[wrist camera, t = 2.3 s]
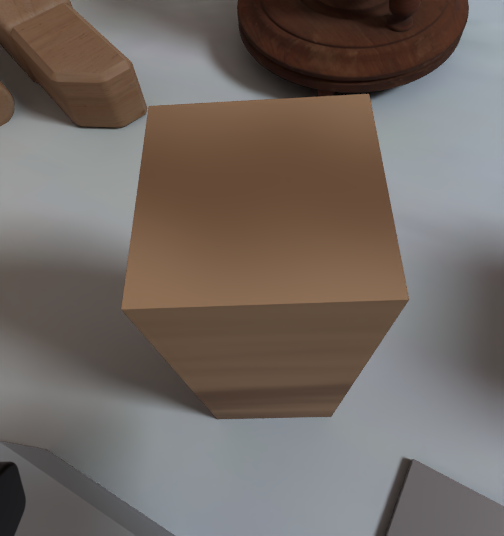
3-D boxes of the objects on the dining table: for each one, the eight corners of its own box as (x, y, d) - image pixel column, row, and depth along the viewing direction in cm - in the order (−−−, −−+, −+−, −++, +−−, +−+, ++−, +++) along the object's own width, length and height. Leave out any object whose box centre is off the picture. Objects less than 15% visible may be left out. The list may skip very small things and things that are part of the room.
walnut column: (331, 416, 19) (409, 299, 7) (217, 419, 19) (121, 309, 8) (321, 309, 21) (369, 93, 10) (219, 313, 21) (148, 106, 10)
